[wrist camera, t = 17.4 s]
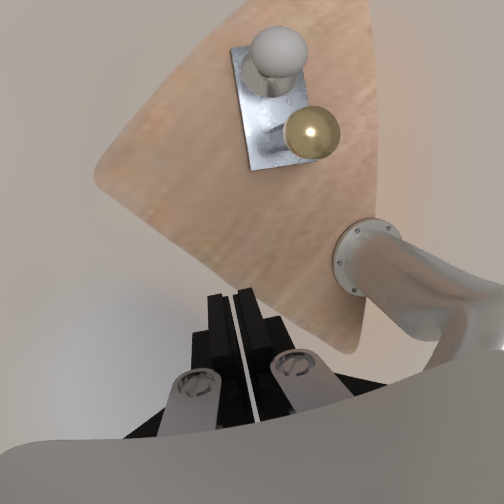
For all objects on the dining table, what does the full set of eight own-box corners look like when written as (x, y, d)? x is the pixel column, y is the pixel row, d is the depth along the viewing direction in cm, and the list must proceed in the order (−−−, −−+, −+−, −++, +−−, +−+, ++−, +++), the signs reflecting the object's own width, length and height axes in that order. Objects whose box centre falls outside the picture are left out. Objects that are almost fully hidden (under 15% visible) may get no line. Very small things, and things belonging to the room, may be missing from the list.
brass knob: (319, 155, 34) (343, 156, 28) (276, 161, 34) (292, 162, 27) (313, 112, 32) (335, 104, 26) (269, 116, 32) (283, 108, 26)
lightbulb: (289, 52, 36) (315, 22, 25) (288, 93, 37) (315, 73, 27) (243, 48, 35) (255, 14, 24) (241, 90, 37) (253, 67, 26)
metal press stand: (313, 160, 42) (350, 163, 31) (249, 170, 42) (266, 175, 30) (294, 46, 37) (323, 14, 26) (230, 51, 36) (239, 16, 25)
